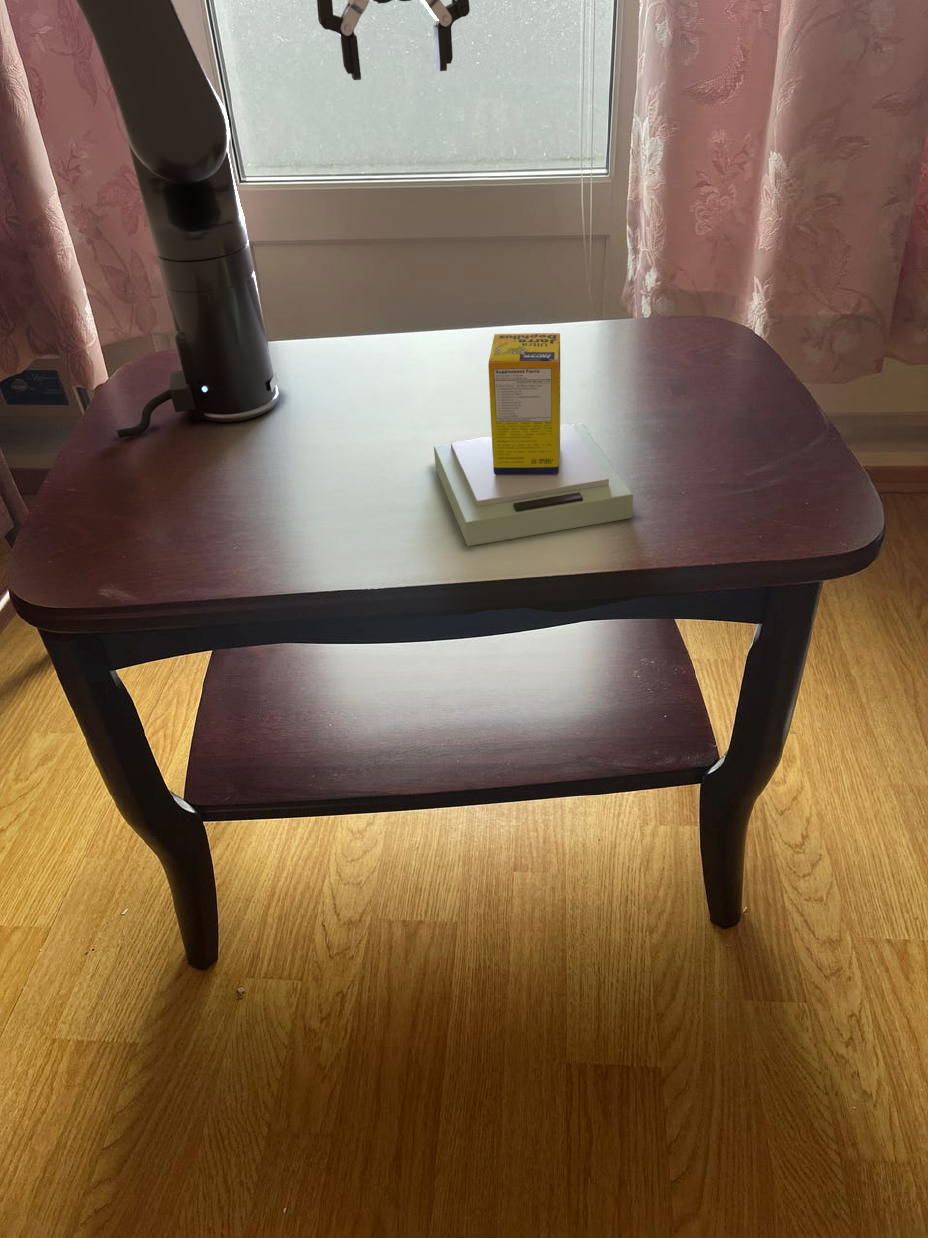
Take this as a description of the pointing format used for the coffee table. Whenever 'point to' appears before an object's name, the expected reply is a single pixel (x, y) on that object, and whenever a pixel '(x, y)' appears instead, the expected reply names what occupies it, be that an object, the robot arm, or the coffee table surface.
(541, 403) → the supplement box
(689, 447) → the coffee table surface
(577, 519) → the scale
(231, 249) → the robot arm
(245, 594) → the coffee table surface
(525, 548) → the coffee table surface
